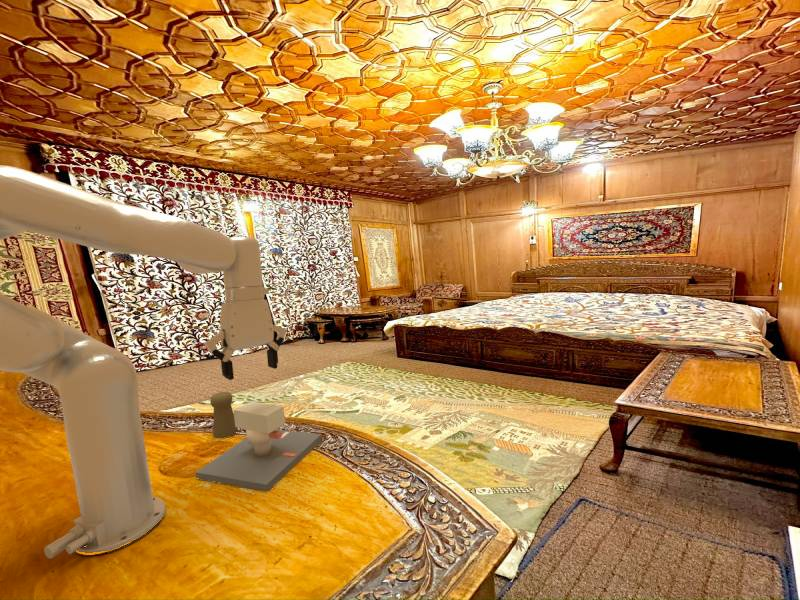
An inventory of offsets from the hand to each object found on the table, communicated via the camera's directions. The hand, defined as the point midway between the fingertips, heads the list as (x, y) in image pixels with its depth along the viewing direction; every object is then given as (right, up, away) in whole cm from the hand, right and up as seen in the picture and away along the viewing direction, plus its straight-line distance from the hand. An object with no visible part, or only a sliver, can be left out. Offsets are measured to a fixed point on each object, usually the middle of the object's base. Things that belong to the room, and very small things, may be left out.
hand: (251, 372), depth 78 cm
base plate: (+2, -20, +3) cm, 20 cm away
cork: (-14, -20, +16) cm, 29 cm away
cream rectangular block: (+2, -15, +2) cm, 15 cm away
